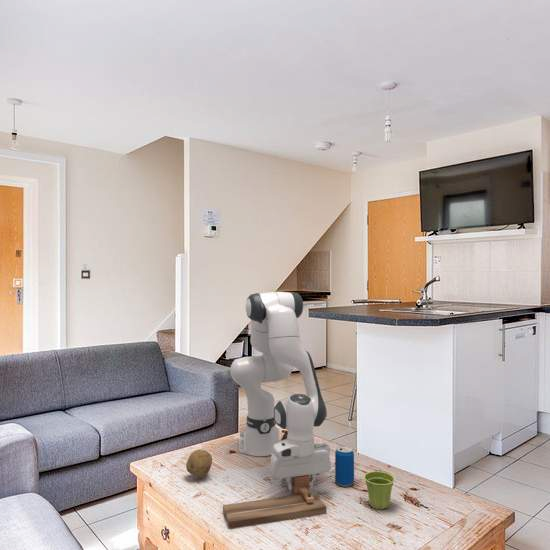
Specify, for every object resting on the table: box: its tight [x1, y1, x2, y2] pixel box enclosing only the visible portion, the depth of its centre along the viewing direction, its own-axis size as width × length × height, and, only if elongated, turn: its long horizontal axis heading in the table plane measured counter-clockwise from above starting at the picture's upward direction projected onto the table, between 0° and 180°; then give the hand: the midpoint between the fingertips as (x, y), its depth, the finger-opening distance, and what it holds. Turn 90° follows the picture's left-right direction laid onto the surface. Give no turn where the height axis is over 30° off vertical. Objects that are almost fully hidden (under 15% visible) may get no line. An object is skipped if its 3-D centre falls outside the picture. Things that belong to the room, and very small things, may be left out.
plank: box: [222, 491, 327, 530], centre depth 141 cm, size 10×30×2 cm, turn 106°
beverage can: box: [334, 445, 355, 488], centre depth 161 cm, size 6×6×12 cm
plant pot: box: [363, 470, 396, 510], centre depth 145 cm, size 9×9×9 cm
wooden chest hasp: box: [291, 475, 314, 503], centre depth 147 cm, size 11×5×8 cm, turn 16°
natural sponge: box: [185, 449, 213, 479], centre depth 165 cm, size 9×9×10 cm
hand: (300, 488), depth 151 cm, fingers closed on wooden chest hasp, 5 cm apart
